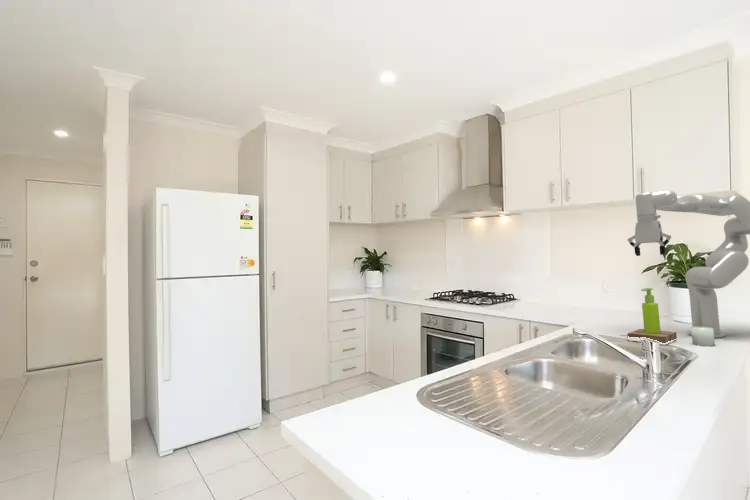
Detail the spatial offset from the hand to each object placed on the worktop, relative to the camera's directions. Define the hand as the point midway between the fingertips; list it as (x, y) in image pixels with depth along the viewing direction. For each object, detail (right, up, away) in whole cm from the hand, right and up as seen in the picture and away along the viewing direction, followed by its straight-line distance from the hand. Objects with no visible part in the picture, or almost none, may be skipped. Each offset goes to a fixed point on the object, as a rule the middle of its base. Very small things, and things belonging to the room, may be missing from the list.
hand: (650, 255), depth 177 cm
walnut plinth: (-5, -38, -8) cm, 39 cm away
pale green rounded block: (+9, -37, -19) cm, 43 cm away
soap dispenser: (-5, -35, -7) cm, 36 cm away
